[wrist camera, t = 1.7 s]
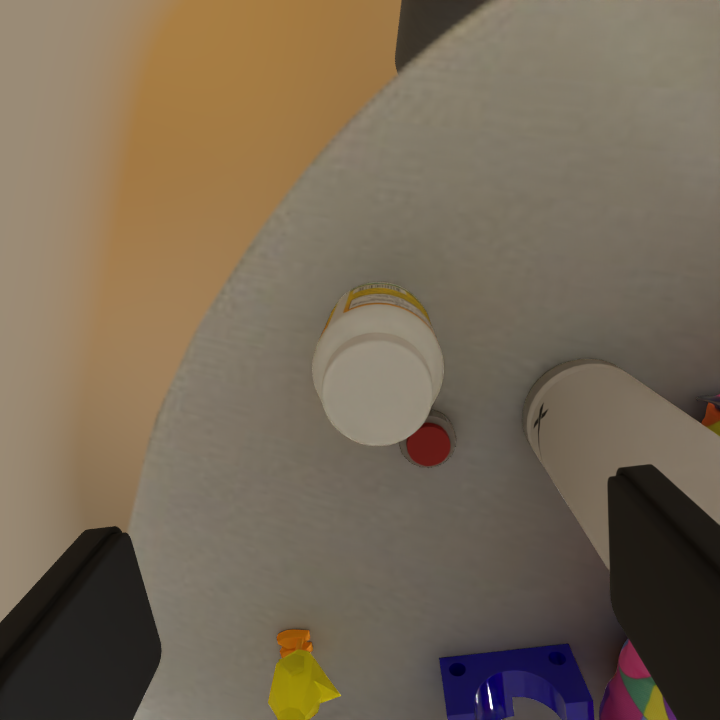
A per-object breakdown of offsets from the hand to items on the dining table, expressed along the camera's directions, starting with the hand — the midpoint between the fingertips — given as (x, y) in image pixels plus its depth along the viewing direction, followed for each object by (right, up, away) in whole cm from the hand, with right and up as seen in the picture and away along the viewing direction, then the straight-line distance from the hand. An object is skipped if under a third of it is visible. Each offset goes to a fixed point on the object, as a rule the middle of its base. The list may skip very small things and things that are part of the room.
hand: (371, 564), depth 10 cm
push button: (+3, 0, +20) cm, 20 cm away
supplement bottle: (+1, +5, +18) cm, 19 cm away
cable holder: (+9, -16, +24) cm, 30 cm away
